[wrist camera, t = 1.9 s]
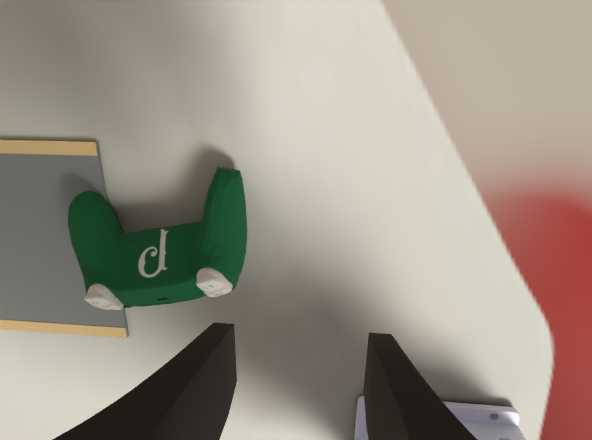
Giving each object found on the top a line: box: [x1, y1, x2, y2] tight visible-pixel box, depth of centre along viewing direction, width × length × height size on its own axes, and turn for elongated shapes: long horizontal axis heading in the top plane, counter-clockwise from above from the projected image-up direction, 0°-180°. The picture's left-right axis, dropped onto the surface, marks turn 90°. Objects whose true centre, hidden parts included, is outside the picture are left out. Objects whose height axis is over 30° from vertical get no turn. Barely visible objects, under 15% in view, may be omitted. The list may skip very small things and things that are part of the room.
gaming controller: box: [68, 167, 247, 310], centre depth 18 cm, size 9×4×6 cm
